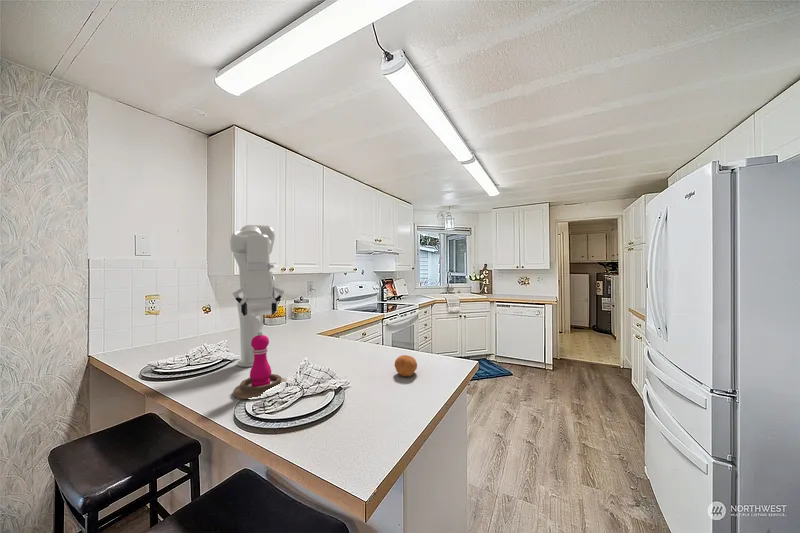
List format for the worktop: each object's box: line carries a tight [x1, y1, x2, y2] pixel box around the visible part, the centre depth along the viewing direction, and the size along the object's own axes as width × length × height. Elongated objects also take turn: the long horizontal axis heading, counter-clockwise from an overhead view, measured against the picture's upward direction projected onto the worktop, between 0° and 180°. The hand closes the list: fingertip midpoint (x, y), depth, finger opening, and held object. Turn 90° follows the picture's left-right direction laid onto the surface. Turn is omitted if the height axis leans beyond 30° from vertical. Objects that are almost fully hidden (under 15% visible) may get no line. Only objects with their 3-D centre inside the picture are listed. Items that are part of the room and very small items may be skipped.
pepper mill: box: [249, 331, 272, 387], centre depth 111 cm, size 7×7×20 cm
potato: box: [394, 354, 418, 377], centre depth 123 cm, size 9×11×8 cm
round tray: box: [232, 373, 287, 401], centre depth 110 cm, size 18×18×3 cm
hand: (259, 314), depth 111 cm, fingers open, 9 cm apart
